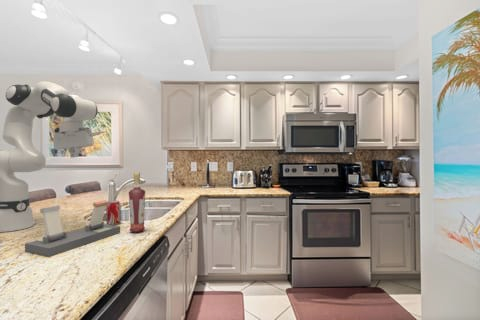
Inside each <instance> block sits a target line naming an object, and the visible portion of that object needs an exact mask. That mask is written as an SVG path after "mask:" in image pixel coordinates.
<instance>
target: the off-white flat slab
mask: <svg viewBox="0 0 480 320" xmlns="http://www.w3.org/2000/svg"><path fill="white" fill-rule="evenodd" d="M108 203H109V202H108V201H107V200H106V199H105V200H100V201H93V203H92V207H93V210H92V212H91V216H90V220H89V224H88V225H90V230H91V229H95V228H98V227H101V226H102V222H103V220H104V216H105V214H106V205H108Z"/></svg>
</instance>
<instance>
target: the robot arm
mask: <svg viewBox="0 0 480 320" xmlns="http://www.w3.org/2000/svg"><path fill="white" fill-rule="evenodd" d="M5 99H6V101H7V102H8V103H10V104H11V105H14V106H12V107H10V109H8V112H7V114H6V117H5V120H4V124H3V131H2V139H3V140H4V142H6V143H7V144H8V145H11V146H13V147H15V148H14V149H13V150H12V149H7V150H5V149H4V150H2V149H1V150H0V233H5V232H7V233H8V232H15V231H20V230H25V229H28V228H32V227H33V226H34V225H36V224H37V221H34V213H33V209H32V208H31V207H30V206H31V205H30V203H31V201H30V198H29V184H28V183H27V181H25V180H23V179H21V178H17V177H16V175H15V173H31V172H37V171H41V170H43V168H45V165H46V164H47V163H46V162H47V160H46V159H47V158H46V157H45V155H44V153H43V152H41V151H39V150H38V149H37V148H36V147H35V146H34V144H33V140H32V139H33V126H34V124H33V123H34V119H35V118H36V117H37V118H38V119H43V118H49V117H50V116H53V115H54V114H55V115H56V116H57V117H59V118H61V124H60V125H59V126H57V127H55V128H53V130H52V133H53V134H54V135H53V139H52V140H53V148H54V149H55V150H67V152H68V153H69V156H70V158H78V157H79V153H80V150H81V148H89V147H93V146H94V144H95V142H94V137H93V134H92V133H93V131H92V129H91V128H90V127H85V126H84V121H92V120H94V119H95V118H96V117H97V116H98V113H99V111H98V106H97V104H96V103H95V101H92V100H90V99H85V98H82V97H81V96H80V95H77V94H70V92H69V91H68V90H67V89H66V88H65V87H63V86H61V85H60V84H57V83H54V82H52V81H44V80H43V81H40V82H38V83H36V85H34V87H32V86H30V85H29V84H14V85H11V86H9V87H8V88H7V90H6V92H5Z"/></svg>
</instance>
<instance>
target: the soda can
mask: <svg viewBox="0 0 480 320" xmlns="http://www.w3.org/2000/svg"><path fill="white" fill-rule="evenodd" d="M108 202H109V203H108V205H106V209H105V219H106V220H105V221H106V225H114V226H118V225H119V224H120V223H121V221H122V206H121V205H122V204H121V202H120V200H109V201H108Z"/></svg>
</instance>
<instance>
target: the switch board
mask: <svg viewBox="0 0 480 320" xmlns="http://www.w3.org/2000/svg"><path fill="white" fill-rule="evenodd" d="M62 231H63V233H64V237H63V238H60V239H56V240H53V241H49V237H47V236H45V235H44V236H42V238H38V239H36V240H33V241H32V240H31V241H29V242H25V243H24V252H26V253H30V254H35V255H40V256H44V257H48V258H50V257H53V256H56V255H58V253H59V254H62V253H64V252H67V251H70V249H71V250H73V249H76V248H79V247H82V246H85V245H88V244H90V243H94V242H97V241H99V240H102V239H105V238H109V237H111V236H115V235H117V234H120V233H121V226H120V225H108V224H107V223H106V224H105V221H102V226H101V227H98V228H95V229H91V230H90V225H89V224H87V225H85V226H84V227H81V228H78V229H73V230H70V231H65V230H62Z"/></svg>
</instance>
